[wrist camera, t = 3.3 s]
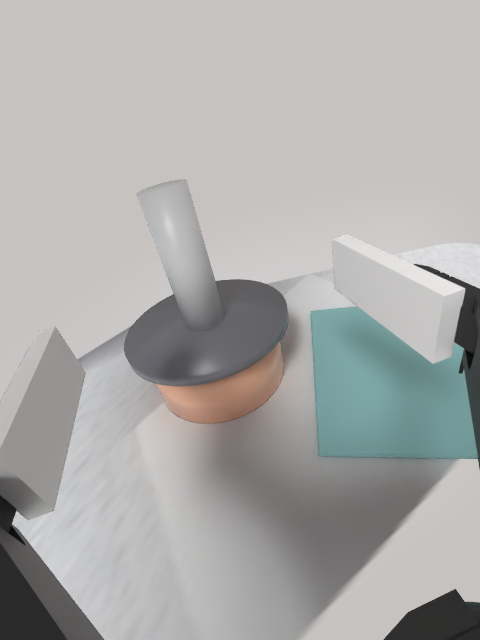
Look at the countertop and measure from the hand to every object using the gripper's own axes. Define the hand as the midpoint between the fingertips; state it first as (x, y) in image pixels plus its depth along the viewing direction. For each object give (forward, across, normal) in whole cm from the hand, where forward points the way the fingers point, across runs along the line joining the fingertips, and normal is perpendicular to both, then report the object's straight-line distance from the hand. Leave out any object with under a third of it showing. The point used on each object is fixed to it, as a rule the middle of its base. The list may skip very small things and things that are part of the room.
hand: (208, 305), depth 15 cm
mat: (+2, +14, -12) cm, 18 cm away
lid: (+8, 0, -6) cm, 11 cm away
